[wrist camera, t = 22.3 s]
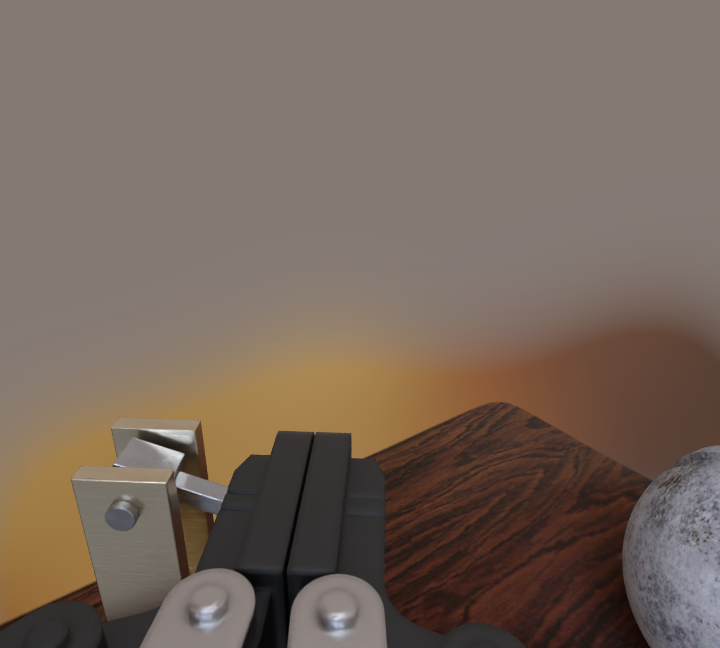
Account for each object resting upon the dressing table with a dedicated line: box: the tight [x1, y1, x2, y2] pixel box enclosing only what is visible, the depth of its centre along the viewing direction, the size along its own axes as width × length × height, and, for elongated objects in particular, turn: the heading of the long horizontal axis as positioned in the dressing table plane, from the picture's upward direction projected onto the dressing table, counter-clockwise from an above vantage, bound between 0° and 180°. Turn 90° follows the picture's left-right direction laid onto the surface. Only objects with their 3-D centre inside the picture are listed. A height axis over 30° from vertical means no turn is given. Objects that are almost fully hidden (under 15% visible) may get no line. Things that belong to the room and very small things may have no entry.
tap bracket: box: [71, 417, 214, 621], centre depth 30 cm, size 8×6×16 cm
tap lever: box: [113, 437, 228, 515], centre depth 28 cm, size 13×12×2 cm
